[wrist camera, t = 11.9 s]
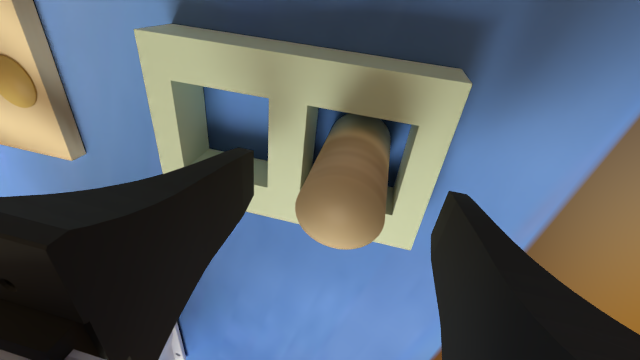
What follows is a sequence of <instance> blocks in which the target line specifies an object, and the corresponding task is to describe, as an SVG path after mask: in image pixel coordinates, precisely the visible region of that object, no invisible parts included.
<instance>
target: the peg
mask: <svg viewBox="0 0 640 360" xmlns="http://www.w3.org/2000/svg"><path fill="white" fill-rule="evenodd" d="M390 145H391V137H390V133H389V130H388V128H387V126H386V125H385V124H384V122H383V121H382V120H380V119H379V118H373V117H368V116H363V115H357V114H352V113H349V114H346V115H344V116H342V117H341V118H340V119H338V120H337V121H336V123H335V124H334V125H333V127H332V129H331V131H330V133H329V135H328V137H327V139H326V141H325V143H324V145H323V147H322V149H321V151H320V153H319V155H318V157H317V159H316V161H315V163H314V165H313V167H312V169H311V170H310V172H309V174H308V176H307V178H306V180H305V182H304V184H303V186H302V188H301V190H300V192H299V194H298V196H297V199H296V203H295V213H296V217H297V220H298V222H299V224H300V226H301V227H302V228H303V230H304V231H305V232H306V233H307V234H308V235H309V236H310V237H311V238H313V239H314V240H316V241H317V242H319V243H321V244H323V245H326V246H329V247H332V248H337V249H355V248H360V247H363V246H365V245H368V244H369V243H371V242H372V241H374V240H375V239H376V238H377V237H378V236H379V234H380V233H381V231H382V229H383V227H384V223H385V212H386V199H387V185H388V172H389V158H390Z"/></svg>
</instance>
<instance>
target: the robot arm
mask: <svg viewBox="0 0 640 360" xmlns="http://www.w3.org/2000/svg"><path fill="white" fill-rule="evenodd" d="M253 196H254V151H253V150H248V149H243V148H235V149H231V150H228V151H226V152H223V153H220V154H218V155H215V156H212V157H210V158H207V159H205V160H202V161H199V162H197V163H194V164H191V165H188V166H185V167H182V168H179V169H177V170H174V171H171V172H168V173H164V174H161V175H158V176H154V177H150V178H146V179H142V180H138V181H134V182H130V183H124V184H119V185H113V186H108V187H103V188H97V189H90V190H83V191H75V192H66V193H57V194H46V195H30V196H13V197H0V360H186V356H185V352H184V348H183V344H182V340H181V336H180V332H179V328H178V324H177V321H178V319H179V317H180V315H181V313H182V311H183V309H184V307H185V305H186V303H187V302H188V300H189V298H190V296H191V294H192V292H193V290H194V289H195V287H196V285H197V283H198V282H199V280H200V278H201V276H202V274H203V273H204V271H205V269H206V268H207V266H208V265H209V263H210V262H211V260H212V258H213V257H214V256H215V254H216V253H217V252H218V250H219V249H220V247H221V246H222V245H223V243H224V242H225V241H226V239H227V238H228V236H229V235H230V234H231V232H232V231H233V229H234V228H235V227H236V225H237V224H238V222H239V221H240V220H241V218H242V217H243V215H244V213H245V212H246V210H247V208H248V206H249V204H250V202H251V200H252V198H253ZM431 262H432V269H433V276H434V283H435V290H436V296H437V303H438V309H439V316H440V325H441V342H442V360H640V335H639V334H637V333H636V332H634V331H632V330H631V329H629V328H627V327H626V326H624V325H623V324H621V323H619V322H618V321H616V320H614V319H613V318H611V317H610V316H608V315H607V314H605V313H604V312H602V311H601V310H599V309H598V308H596V307H595V306H594V305H592V304H590V303H589V302H587V301H586V300H585V299H583V298H582V297H581V296H579V295H578V294H576V293H574V292H573V291H572V290H571V289H569V288H568V287H567V286H565V285H564V284H563V283H561V282H560V281H559V280H557V279H556V278H555V277H554V276H553V275H551V274H550V273H549V272H548V271H546V270H545V269H544V268H543V267H541V266H540V265H539V264H538V263H536V262H535V261H534V260H533V259H532V258H531V257H529V256H528V255H527V254H526V253H525V252H524V251H523V250H522V249H521V248H520V247H519V246H518V245H517V244H515V243H514V242H513V241H512V240H511V239H510V238H509V237H508V236H507V235H506V234H505V233H504V232H503V231H502V230H501V229H500V228H499V227H498V226H497V225H496V224H495V223H494V222H493V220H492V219H491V218H490V217H489V216H488V215H487V214H486V213H485V212H484V211H483V210H482V209H481V208H480V207H479V206H478V205H477V204H476V203H475V202H474V201H473V200H472V199H471V198H470V197H469V196H468V195H467V194H462V193H457V192H452V191H449V192H448V194H447V197H446V199H445V202H444V204H443V207H442V209H441V212H440V214H439V217H438V219H437V221H436V224H435V226H434V229H433V231H432V234H431Z"/></svg>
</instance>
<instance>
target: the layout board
mask: <svg viewBox="0 0 640 360" xmlns="http://www.w3.org/2000/svg"><path fill="white" fill-rule="evenodd" d="M0 144H1V145H6V146H10V147H14V148H19V149H23V150H27V151H32V152H36V153H40V154H45V155H49V156H53V157H58V158H62V159H66V160H71V161H73V160H75V159H77V158H79V157H81V156H83V155H85V154H86V152H85V149H84V146H83V143H82V140H81V138H80V135H79V132H78V129H77V126H76V123H75V120H74V117H73V114H72V112H71V109H70V106H69V103H68V100H67V97H66V94H65V91H64V88H63V86H62V83H61V80H60V77H59V74H58V71H57V68H56V65H55V62H54V60H53V57H52V54H51V51H50V48H49V45H48V42H47V39H46V37H45V34H44V31H43V28H42V25H41V22H40V19H39V16H38V13H37V11H36V8H35V5H34V2H33V0H0Z"/></svg>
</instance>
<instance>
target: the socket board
mask: <svg viewBox="0 0 640 360" xmlns="http://www.w3.org/2000/svg"><path fill="white" fill-rule="evenodd" d="M134 33H135V38H136V43H137V48H138V53H139V58H140V63H141V68H142V73H143V78H144V83H145V88H146V93H147V98H148V103H149V108H150V113H151V118H152V123H153V127H154V132H155V137H156V142H157V147H158V152H159V157H160V162H161V167H162V172H163V174H164V173H168V172H171V171H174V170H177V169H179V168H182V167H185V166H188V165H191V164H194V163H197V162H199V161H202V160H205V159H207V158H210V157H212V156H215V155H218V154H220V153H223V151H218V150H213V149H209V141H208V131H207V121H206V111H205V101H204V91H203V86H204V87H210V88H215V89H220V90H226V91H231V92H237V93H242V94H248V95H253V96H259V97H264V98H269V132H268V161H265V160H261V159H256V158H254V196H253V198H252V200H251V202H250V204H249V206H248V208H247V210H246V212H250V213H254V214H259V215H263V216H267V217H271V218H276V219H280V220H284V221H288V222H292V223H297V224H299V222H298V220H297V217H296V213H295V203H296V199H297V196H298V194H299V192H300V190H301V188H302V186H303V184H304V182H305V180H306V178H307V176H308V174H309V172H310V170H311V169H312V164H313V155H314V146H315V136H316V127H317V118H318V109H319V108H324V109H330V110H335V111H341V112H346V113H352V114H357V115H363V116H368V117H373V118H379V119H384V120H390V121H395V122H401V123H406V124H412V125H411V128H410V132H409V135H408V139H407V142H406V146H405V149H404V153H403V156H402V160H401V163H400V167H399V170H398V174H397V177H396V181H395V184H394V188H393V187H389V186H387V199H386V212H385V223H384V227H383V229H382V231H381V233H380V234H379V236H378V237H377V238H376V239H375V240H374V241H373V242H377V243H381V244H386V245H390V246H394V247H398V248H402V249H407V250H411V248H412V245H413V242H414V240H415V237H416V234H417V232H418V229H419V226H420V224H421V221H422V218H423V216H424V213H425V210H426V208H427V205H428V202H429V199H430V197H431V194H432V191H433V189H434V186H435V183H436V181H437V178H438V175H439V173H440V170H441V167H442V165H443V162H444V159H445V157H446V154H447V151H448V148H449V146H450V143H451V140H452V138H453V135H454V132H455V130H456V127H457V124H458V122H459V119H460V116H461V114H462V111H463V108H464V106H465V103H466V100H467V97H468V95H469V92H470V89H471V87H472V83H471V81H470V80H469V79H468V77H467V76H466V74H465V73H464V72H463V70H462V69H458V68H452V67H445V66H439V65H433V64H426V63H420V62H413V61H407V60H401V59H394V58H388V57H381V56H375V55H369V54H362V53H356V52H349V51H343V50H337V49H330V48H324V47H317V46H311V45H305V44H298V43H292V42H285V41H279V40H273V39H266V38H260V37H254V36H247V35H241V34H234V33H228V32H222V31H215V30H209V29H202V28H196V27H190V26H183V25H177V24H165V25H159V26H152V27H145V28H138V29H134Z"/></svg>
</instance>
